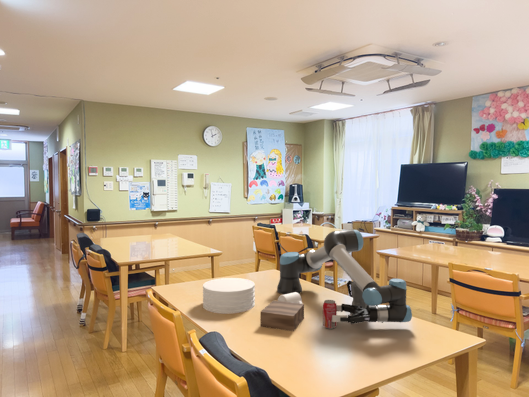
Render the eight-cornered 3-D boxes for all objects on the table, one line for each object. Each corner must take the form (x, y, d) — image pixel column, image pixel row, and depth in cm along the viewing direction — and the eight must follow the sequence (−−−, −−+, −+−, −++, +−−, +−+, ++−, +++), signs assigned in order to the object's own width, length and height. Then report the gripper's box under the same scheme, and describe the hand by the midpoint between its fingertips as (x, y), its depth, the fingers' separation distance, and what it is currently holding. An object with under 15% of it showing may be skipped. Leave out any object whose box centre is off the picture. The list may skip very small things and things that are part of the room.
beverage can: (327, 323, 182) (327, 298, 181) (338, 326, 178) (339, 301, 177) (320, 327, 177) (320, 301, 176) (332, 330, 173) (332, 304, 172)
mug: (277, 308, 203) (277, 293, 203) (292, 304, 209) (292, 290, 209) (292, 314, 193) (292, 299, 193) (307, 311, 199) (307, 295, 199)
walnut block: (273, 314, 194) (273, 300, 194) (304, 318, 189) (304, 304, 188) (260, 326, 177) (260, 311, 177) (293, 331, 172) (293, 316, 172)
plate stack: (230, 317, 189) (230, 295, 189) (192, 306, 206) (191, 285, 206) (265, 303, 212) (265, 283, 211) (227, 294, 229) (227, 275, 228)
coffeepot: (376, 316, 191) (376, 280, 190) (363, 319, 186) (363, 283, 185) (353, 307, 204) (353, 274, 203) (340, 310, 199) (340, 276, 198)
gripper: (384, 332, 164) (334, 332, 164) (368, 312, 189) (325, 312, 189) (384, 314, 163) (334, 314, 164) (369, 297, 188) (325, 296, 189)
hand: (329, 313), depth 176 cm, fingers open, 13 cm apart
